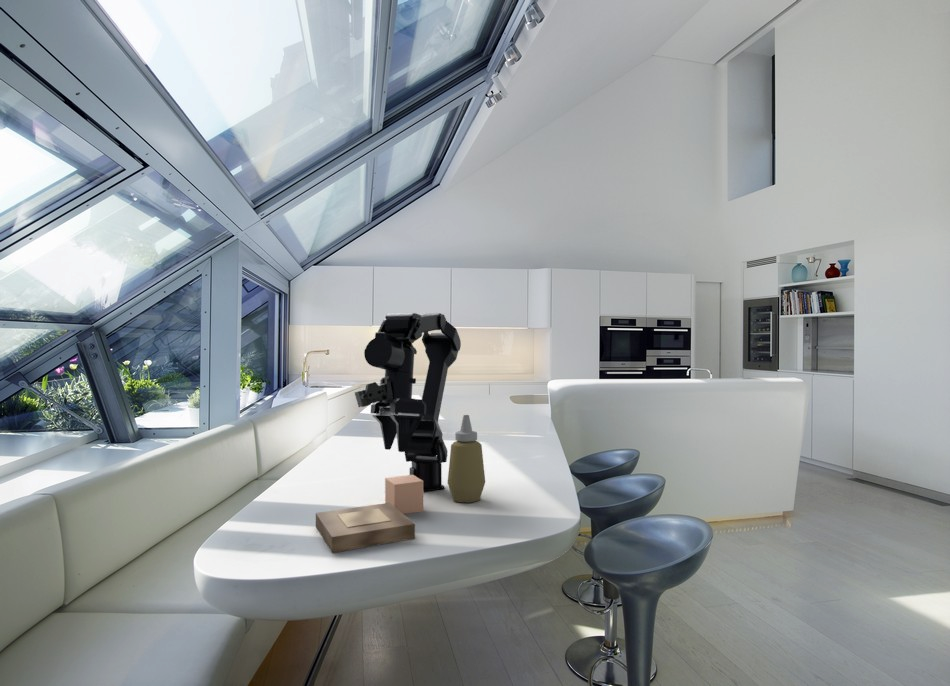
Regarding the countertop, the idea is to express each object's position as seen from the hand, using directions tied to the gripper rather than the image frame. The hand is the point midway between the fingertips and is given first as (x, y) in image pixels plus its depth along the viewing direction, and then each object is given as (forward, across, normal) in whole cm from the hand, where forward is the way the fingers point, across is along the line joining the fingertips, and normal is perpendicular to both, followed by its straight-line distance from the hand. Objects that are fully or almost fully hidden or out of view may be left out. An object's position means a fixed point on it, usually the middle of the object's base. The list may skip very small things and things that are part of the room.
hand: (394, 450), depth 110 cm
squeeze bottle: (+10, -2, +17) cm, 20 cm away
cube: (+12, -1, +3) cm, 12 cm away
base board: (+14, +9, -7) cm, 18 cm away
